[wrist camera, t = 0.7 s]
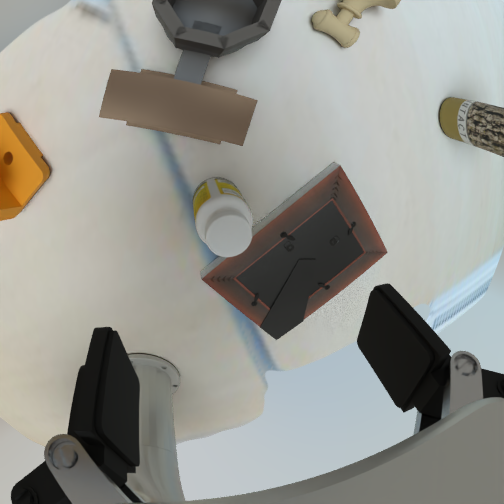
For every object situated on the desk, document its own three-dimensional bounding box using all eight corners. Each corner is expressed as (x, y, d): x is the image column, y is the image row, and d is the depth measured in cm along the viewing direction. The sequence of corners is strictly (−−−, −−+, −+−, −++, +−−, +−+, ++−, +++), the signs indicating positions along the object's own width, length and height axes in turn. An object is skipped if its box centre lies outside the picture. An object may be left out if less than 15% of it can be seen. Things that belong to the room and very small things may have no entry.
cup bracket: (218, 142, 29) (243, 170, 17) (128, 124, 26) (86, 140, 14) (265, 7, 22) (319, -44, 11) (177, -16, 19) (177, -82, 7)
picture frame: (272, 329, 45) (379, 245, 42) (276, 340, 43) (388, 253, 40) (199, 269, 37) (331, 161, 34) (201, 279, 35) (341, 165, 32)
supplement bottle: (199, 226, 34) (206, 271, 25) (187, 183, 31) (188, 216, 23) (243, 214, 34) (265, 255, 26) (234, 171, 31) (254, 198, 23)
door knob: (371, 62, 23) (309, 20, 20) (344, 52, 29) (292, 20, 26) (413, 3, 17) (355, -42, 14) (380, 2, 23) (330, -33, 20)
